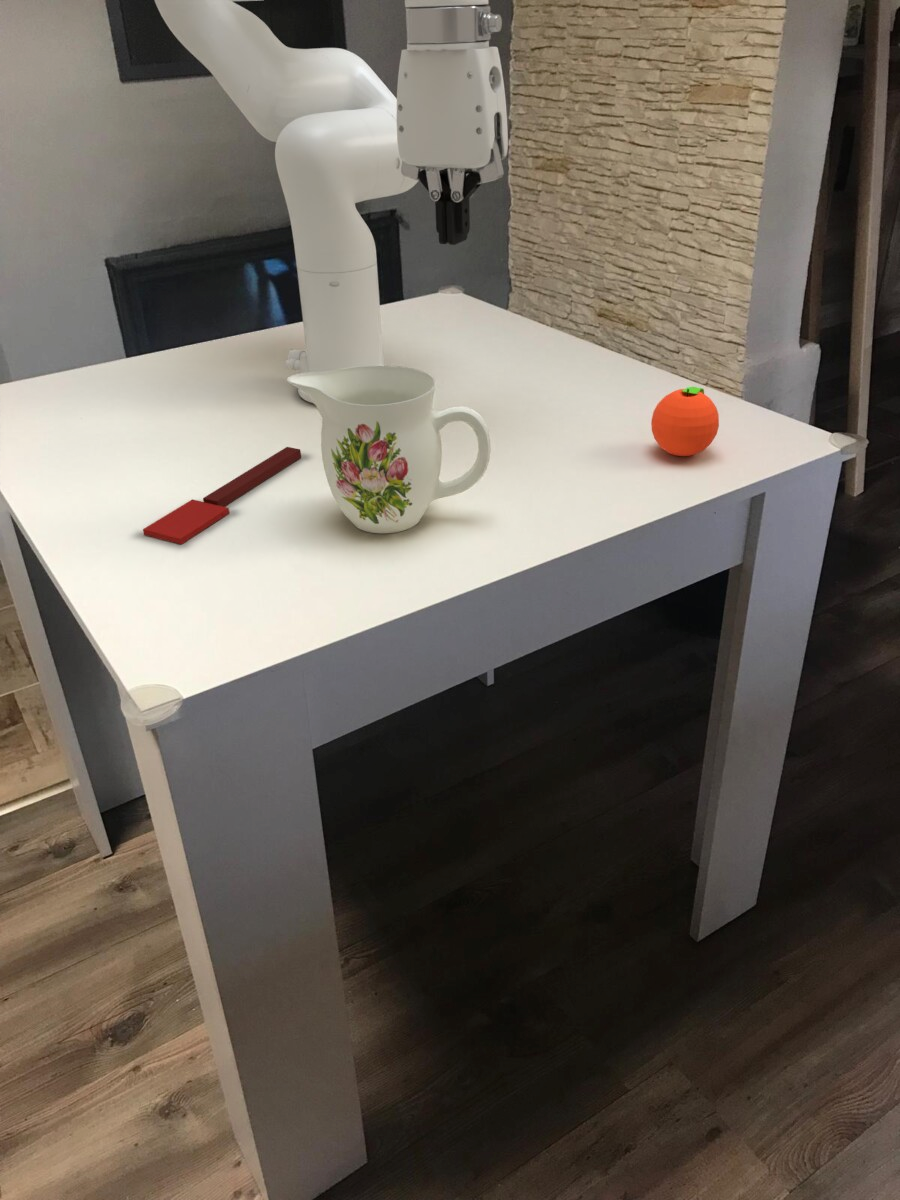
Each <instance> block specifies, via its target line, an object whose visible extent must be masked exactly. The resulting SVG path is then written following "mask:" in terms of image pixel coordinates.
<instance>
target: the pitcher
mask: <svg viewBox="0 0 900 1200" xmlns="http://www.w3.org/2000/svg"><path fill="white" fill-rule="evenodd" d="M286 381H287V382H288V383H289V384H290V385H291V386H293V387H294V388H297V389H298V388H299V389H301V390H302V391H304V392H305V393H306V394H308V395H309V397H310V398H311V399H312V401H313V402H314V403H315V404H314V403H313V404H314V406H315V407H316V408H317V410H318V412H319V414H320V417H321V419H322V420H321V422H322V423H321V432H320V447H321V458H322V459H321V460H322V465H323V470H324V473H325V477H326V480H327V484H328V486H329V489H330V491H331V493H332V496H333V498H334V500H335V502H336V504H337V506H338V507H339V509H340V510H341V512H342V513H343V514H344V516H345V517H346V518H347V519H348V520H349V521H350V522H351V523H352V524H353V525H354V526H355V528H357V529H359V530H361V531H364V532H366V533H371V534H393V533H400V532H402V531H406V530H409V529H412V528H413V527H415V526H416V525H417V524H418V523H420V521H421V519H422V518H423V516H424V515H425V513H426V512H427V510H428V509H429V506H430V505H431V503H432V502H433V501H435V500H437V499H443V498H447V497H452V496H456V495H460V494H461V493H464V492H466V491H467V490H469V489H471V488H472V487H473V486H474V485H476V484H477V483H478V482H479V481H480V480H481V478H483V476H484V474H485V473H486V471H487V470H488V469H487V468H488V466H489V462H490V458H491V437H490V431H489V427H488V426H487V423H486V421H485V420H484V419H483V416H481V414H480V413H478V412H477V410H474V409H473V408H471V407H468V406H465V405H464V406H463V405H461V406H460V405H458V406H451V407H448V408H445V409H443V410H441V411H437V410H434V409H433V403H434V396H435V391H436V379H435V378H434V377H433V376H432V375H431V374H429V373H428V372H426V371H423V370H420V369H416V368H413V367H406V366H399V365H384V366H356V367H348V368H342V369H337V370H332V371H325V372H309V373H302V372H300V373H296V374H292V375H290V376H288V377H287V378H286ZM453 422H462V423H465V424H467V425H468V426H470V427H471V428H472V430H473V433H474V434H475V436H476V439H477V445H478V447H477V448H478V451H477V455H476V456H477V457H476V459H475V462H474V463H473V465H472V467H471V468H470V469H469V470H467V471H466V472H465V473H464V474H462V475H461V476H459V477H457V478H455V479H452V480H449V481H441V480H440V475H441V470H442V469H441V467H442V457H443V456H442V455H443V450H442V449H443V448H442V446H443V445H442V437H441V432H440V431H441V430H442V429H443V428H444V427H445V426H446V425H448V424H451V423H453Z"/></svg>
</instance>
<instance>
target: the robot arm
mask: <svg viewBox="0 0 900 1200" xmlns="http://www.w3.org/2000/svg"><path fill="white" fill-rule="evenodd" d="M255 1H256V2H257V1H263V0H154V1H153V2H154V4H155V6H156V8H157V10H158V12H159V14H160V16H161V18H162V19H163V21H164V23H165V25H166V26H167V27H168V29H169V30H170V31H171V33H172V34H173V35H174V37H175V38H176V39H177V41H178V42H180V44H181V45H182V46H183V47H184V48H185V49H186V50H187V51H188V52H189V53H190V54H191V55H193V57H194V58H196V60H197V61H199V63H201V64H202V65H203V66H204V67H205V68H206V69H207V70H208V71H209V72H210V73H211V75H212V76H213V77H214V79H215V80H216V81H217V83H218V84H219V86H221V88H222V89H223V90H224V92H225V93H226V94H227V96H229V98H230V99H231V101H232V102H233V103H234V104H235V106H236V107H237V108H238V110H239V111H240V112H241V114H242V115H243V116H244V117H245V119H246V120H247V121H248V122H249V124H251V126H252V127H253V128H254V129H255V130H256V132H257V133H258V134H259V135H261V136H262V137H263V138H264V139H266V140H268V141H270V142H274V143H275V147H274V160H275V167H276V171H277V176H278V179H279V182H280V183H279V184H280V186H281V189H282V190H281V191H282V193H283V196H284V201H285V205H286V206H287V212H288V216H289V221H290V226H291V227H290V228H291V233H292V239H293V247H294V254H295V255H294V256H295V265H296V271H297V281H298V289H299V291H298V292H299V299H300V307H301V316H302V317H301V318H302V324H303V334H304V342H305V350H304V349H303V350H301V349H296V348H293V349H290V350H289V351H288V355H287V358H286V360H285V368H286V369H287V370H292V371H300V373H309V372H325V371H332V370H337V369H342V368H348V367H356V366H385V363H384V362H385V361H384V348H383V345H384V344H383V332H382V318H381V304H380V289H379V287H380V286H379V274H378V261H377V260H378V258H377V248H376V242H375V239H374V236H373V234H372V232H371V229H370V228H369V226H368V225H367V223H366V222H365V220H364V219H363V218H362V216H361V213H359V211H358V209H357V207H356V204H357V203H362V202H364V201H368V200H375V199H381V198H386V197H387V198H388V197H391V196H396V195H397V196H398V195H400V194H403V193H405V192H407V191H409V190H411V189H412V188H413V187H415V185H417V183H419V182H420V183H421V184H422V185H423V187H424V188H425V189H426V190H427V192H428V193H429V198H430V200H431V201H433V202H434V206H435V209H434V210H435V227H436V228H435V229H436V232H437V233H438V244H440V245H447V244H448V245H451V246H456V245H458V244H460V243H462V242H464V241H467V239H468V235H469V233H470V229H471V220H470V219H471V217H470V216H471V215H470V199H471V198H473V197H474V195H475V192H477V190H478V189H479V188H480V187H481V185H482V184H486V183H489V182H494V181H497V180H500V179H502V178H503V177H504V174H505V172H504V167H503V162H502V161H503V160H504V159H505V158H506V157H507V155H508V149H509V131H508V114H507V99H506V92H505V91H506V90H505V82H504V75H503V69H502V62H501V57H500V52H499V48H498V47H497V46H490V41H491V39H492V35H491V34H493V33H500V32H501V30H502V26H503V18H502V16H501V15H500V14H494V13H492V12H491V6H490V5H489V0H404V8H405V9H404V10H405V11H404V12H405V31H406V32H405V35H406V49H401V52H400V59H399V65H398V74H397V86H396V87H397V88H396V89H397V90H396V96H395V95H394V93H392V92H391V90H390V89H389V88H388V87H387V85H386V84H385V83H384V82H383V80H381V78H380V77H379V76H378V75H377V73H376V72H375V71H374V70H373V69H372V68H371V67H370V65H368V63H367V62H366V61H365V60H364V59H362V58H361V57H360V56H358V55H357V54H356V53H354V52H352V51H349V50H348V49H345V48H339V47H320V48H319V47H317V48H293V47H289V46H286V45H285V44H284V43H282V41H281V40H279V38H278V37H277V36H276V35H275V34H274V33H273V31H272V30H271V28H270V27H269V26H268V24H266V23H265V21H263V20H262V19H260V18H259V17H258V16H257V15H256V14H254V12H252V11H250V10H249V9H246V8H245V7H243V6H241V5H239V4H238V3H236V2H255ZM451 169H453V170H452V173H451ZM297 390H298V395H299V397H300V398H302V399H303V400H304V401H306V402H307V403H310V404H314V405H315V403H314V402H313V401H312V399H311V398H310V397H309V395H308V394H306V393H305V392H304V391H302V390H301V389H299V388H297Z"/></svg>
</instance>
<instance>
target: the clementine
mask: <svg viewBox="0 0 900 1200" xmlns="http://www.w3.org/2000/svg"><path fill="white" fill-rule="evenodd" d="M719 417H720V414H719V412H718V408H717V406H716V404H715V403H714V402H713V400H712V399H711V398H710V397H709V396H708V395H707V394H705V390H704V388H703V387H697V386H688V387H686V388H680V389H675V390H673V391H672V392H669V393H668V394H666V395H665V396H664V397H662V399H661V400H660V401H659V402H657V404H656V406H655V408H654V409H653V412H652V417H651V422H650V423H651V433H652V435H653V438H654V440H655V442H656V443H657V444H658V446H659V447H660V448H661V449H663V450H664V451H665V452H667V453H668V454H671V455H673V456H679V457H690V456H694V455H697V454H699V453H702V452H703V451H705V450H706V449H707V448H708V447H709V446H710V445H711V444H712V443H713V442H714V440H715V438H716V436H717V435H718V431H719V427H720V418H719Z"/></svg>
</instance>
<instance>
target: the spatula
mask: <svg viewBox="0 0 900 1200" xmlns="http://www.w3.org/2000/svg"><path fill="white" fill-rule="evenodd" d="M301 458H302V452H301V449H300V448H296V447H295V448H294V447H291V446H286V447H284V448H282V449H281V450H279V451H277V452H276V453H274V454H273V455H271V456H269V457H268V458H266V459H264V460H263V461H261V462H260V463H258V464H256V465H254V466H253V467H251V468H249V469H248V470H247V471H244V472H243V473H242V474H240V475H238V476H237V477H235V478H233V479H232V480H230V481H229V482H227V483H225V484H223V485H222V486H221V487H218V488H217V489H216V490H213V491H212V492H211V493H209V494H208V495H205V496H204V497H203V498H202V501H200V500H197V499H193V498H191V499H190V500H189V501H187V502H185V503H184V504H182V505H181V506H179V507H177V508H176V509H174V510H172V511H171V512H169V513H167V514H165V515H164V516H162V517H161V518H158V519H157V520H156V521H154V522H152V523H151V524H149V525H147V526H146V527H144V528H142V531H143V535H144V536H148V537H151V538H155V539H159V540H163V541H167V542H171V543H175V544H178V545H183V544H184V543H186V542H188V541H189V540H190V539H192V538H194V537H195V536H196V535H198V534H200V533H201V532H203V531H204V530H206V529H207V528H208V527H210V526H213V525H214V524H215V523H216V522H218V521H220V520H221V519H224V518H225V517H226V516H228V515H229V514H230V509H229V507H227V505H229V504H230V503H232V502H234V501H236V500H237V499H239V498H241V496H243V495H245V494H246V493H248V492H250V491H251V490H253V489H254V488H256V487H257V486H259V485H260V484H262V483H263V482H265V481H267V480H269V479H270V478H271V477H273V476H274V475H276V474H278V473H279V472H281V471H283V470H284V469H286V468H287V467H289V466H291V465H292V464H294V463H295V462H297V461H298V460H300V459H301Z"/></svg>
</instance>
